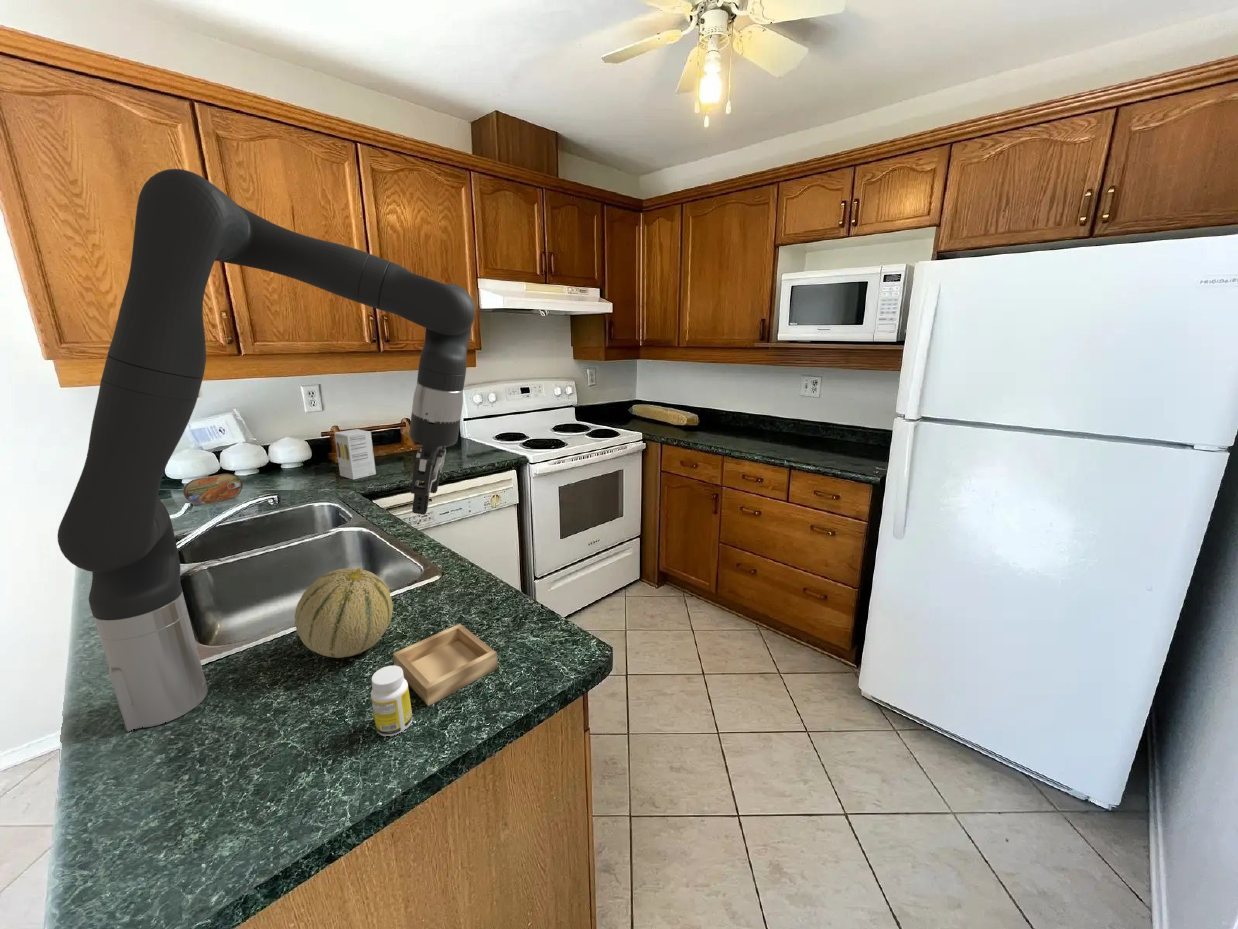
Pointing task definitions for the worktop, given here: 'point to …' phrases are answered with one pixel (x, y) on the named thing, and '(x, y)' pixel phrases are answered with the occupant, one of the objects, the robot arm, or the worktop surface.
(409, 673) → the box
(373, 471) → the supplement box
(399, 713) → the supplement bottle
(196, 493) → the tin
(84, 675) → the worktop surface
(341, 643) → the cantaloupe
